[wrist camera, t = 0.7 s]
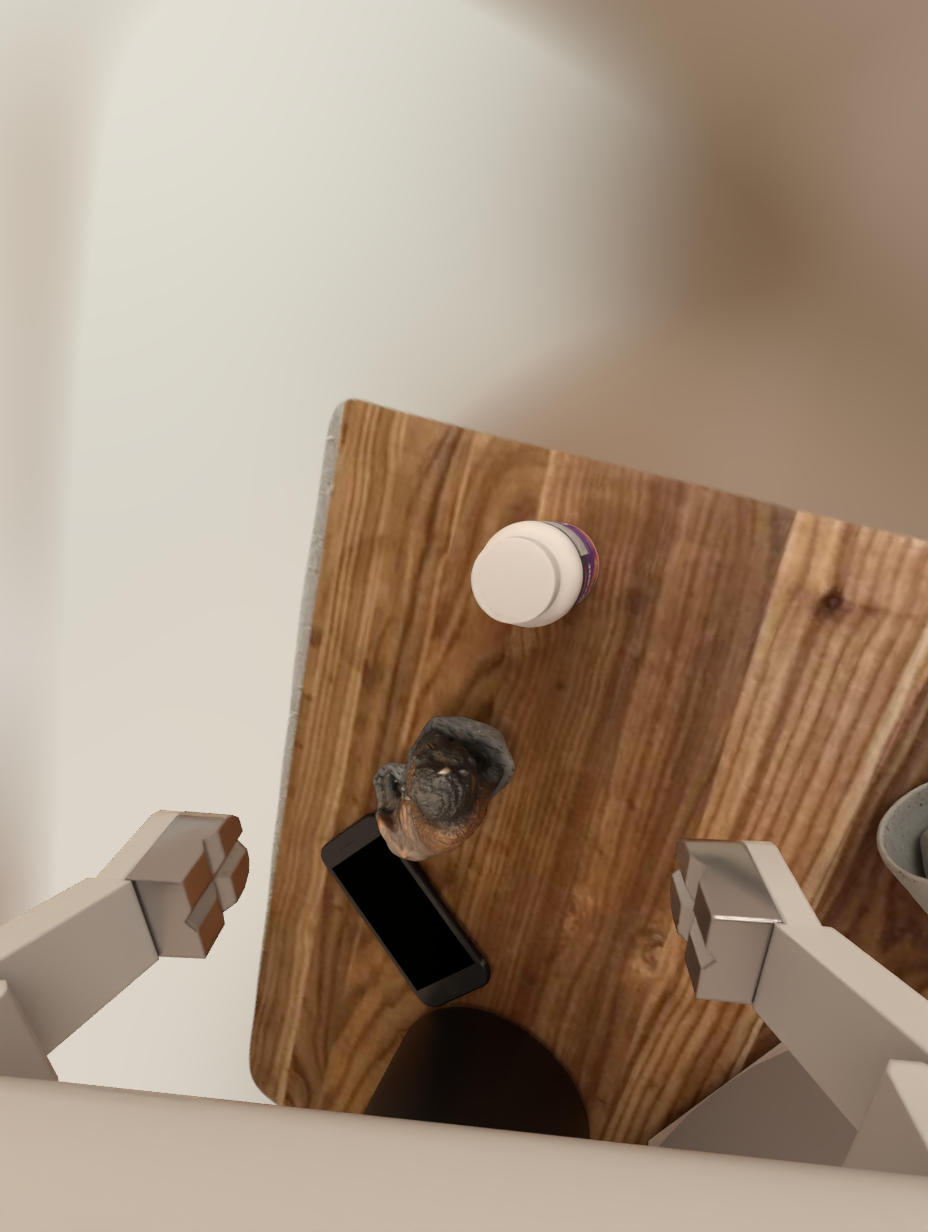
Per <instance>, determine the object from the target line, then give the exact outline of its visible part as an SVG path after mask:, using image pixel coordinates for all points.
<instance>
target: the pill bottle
mask: <svg viewBox="0 0 928 1232" xmlns="http://www.w3.org/2000/svg"><path fill="white" fill-rule="evenodd" d="M598 572H599V558H598V553H597V550H596V548H595V546H594V544H593V542H592V541H591V539H590V538H589V537H588V536H587V535H586V534H585V533H584V532H583V531H582V530H580V529H579V528H577V527H575V526H573V525H571V524H568V523H564V522H557V521H523V522H518V523H514V524H511V525H509V526H507V527H505V528H503V529H501V530H500V531H498V532H497V533H496V534H495V535H494V536H493V537H492V538H491V539H490V540H489V542H488V543H487V544H486V546H485V548H484V549H483V551H482V552H481V553H480V554H479V556H478V557H477V559H476V561H475V563H474V566H473V570H472V576H471V584H472V590H473V594H474V597H475V599H476V601H477V603H478V604H479V606H480V607H481V608H482V610H483V611H484V612H485V613H486V614H487V615H489V616H490V617H492V618H494V619H495V620H497V621H500V622H503V623H507V624H512V625H516V626H520V627H541V626H545V625H548V624H550V623H553V622H555V621H557V620H558V619H560V618H561V617H563V616H564V615H566V614H567V613H568V612H569V611H570V610H572V609H573V608H574V607H575V606H577V605H578V604H579V603H580V602H581V601H583V600H584V599H585V598H586V597H587V595H588V594H589V593H590V592H591V590H592V588H593V587H594V585H595V583H596V580H597V577H598Z"/></svg>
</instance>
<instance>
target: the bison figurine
mask: <svg viewBox="0 0 928 1232" xmlns="http://www.w3.org/2000/svg"><path fill="white" fill-rule="evenodd" d="M408 753H409V759H408V760H409V762H406V763H404V764H397V763H393V762H390V763H387V764H385V765H383V766H382V767H381V768H380V769H379V771H378V772H377V773H376V775H375V776H374V778H373V783H374V788H375V791H376V798H377V804H378V806H377V812H376V816H375V817H376V820H377V822H378V827H379V830H380V833H381V835H382V837H383V838H384V839H385V841H386V843H387V846H388V847H389V849H390V850H391V852H392V853H394V854H395V855H397V856H399V857H402V858H404V859H407V860H411V861H423V860H426V859H427V858H429V857H430V856H431V855H438V854H442V853H446V852H449V851H452V850H454V849H455V848H457V847H458V846H460V845H461V844H462V843H463V842H464V841H465V840H466V839H467V838H469V837H470V836H471V835H472V834H473V832H474V831H475V830H476V829H477V828H478V827H479V825H480V824H481V822H482V819H483V817H484V815H485V814H486V812H487V805H488V801H489V800H490V799H491V798H492V797H493V796H494V795H495V794H496V793H497V792H499V791H500V790H501V789H502V788H503V787H505V786H506V785H507V784H508V783H509V782H510V780H511V779H512V776H513V773H514V770H515V766H514V761H513V758H512V756H511V753H510V752H509V750H508V748H507V745H506V742H505V739H504V737H503V735H502V734H501V733H500V732H499V731H498V730H497V729H496V728H494V727H492V726H490V725H487V724H485V723H482V722H478V721H476V720H473V719H470V718H467V717H459V716H458V717H450V716H448V717H441V716H438V717H434V718H432V719H431V720H429V722H428V723H427V725H426V726H425V727H424V728H423V730H422V732H421V734H420V736H419V737H418V739H417V740H416V741H415V743H414V745H413V746H412V747H411V748H410V749H409V752H408Z"/></svg>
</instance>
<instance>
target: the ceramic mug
mask: <svg viewBox="0 0 928 1232" xmlns="http://www.w3.org/2000/svg"><path fill="white" fill-rule="evenodd" d="M876 838H877V848H878V851H879V853H880V856H881V858H882V860H883V861H884V863H885V865H886V866H887V867H888V868H889V870H890V871H891V872H892V873H893V874H894V876H895V877H896V878H897V879H898V880H899V881H900V883H901V884H902V885H903V886H904V887H905V888H906V889H907V890H908V892H909V893H910V894H911V895H912V896H913V898H914V899H915V900H916V901H917V903H918V904H919V905H920V906H921V907H922V908H923V910H924V911H925V912H926V913H927V914H928V782H927V783H925V784H922V785H920V786H918V787H916V788H915V789H913V790H911V791H910V792H908V793H907V794H905V795H904V796H902V797H901V798H900V799H898V800H897V801H896V802H895V803H894V804H893V805H892V806H891V807H890V809H889V810H888V811H887V812H886V813H885V814H884V816H883V817H882V819H881V821H880V823H879V826H878V831H877V836H876Z"/></svg>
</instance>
